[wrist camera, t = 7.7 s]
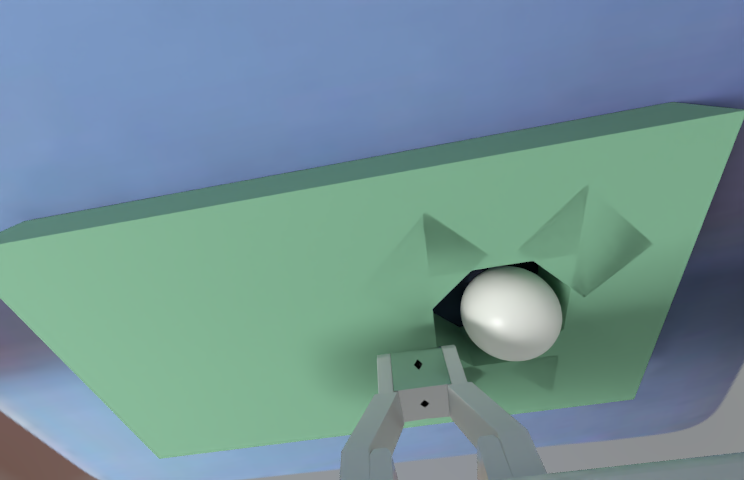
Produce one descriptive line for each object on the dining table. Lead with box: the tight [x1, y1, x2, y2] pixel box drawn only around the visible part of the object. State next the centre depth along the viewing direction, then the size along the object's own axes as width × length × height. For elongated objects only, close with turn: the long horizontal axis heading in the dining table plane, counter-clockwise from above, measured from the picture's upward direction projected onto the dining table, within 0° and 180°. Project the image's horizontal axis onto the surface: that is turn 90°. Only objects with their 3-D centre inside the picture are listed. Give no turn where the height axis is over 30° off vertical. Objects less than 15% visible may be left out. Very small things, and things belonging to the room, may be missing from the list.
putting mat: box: [0, 102, 744, 459], centre depth 14 cm, size 14×26×2 cm, turn 100°
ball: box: [460, 266, 562, 361], centre depth 13 cm, size 4×4×4 cm
